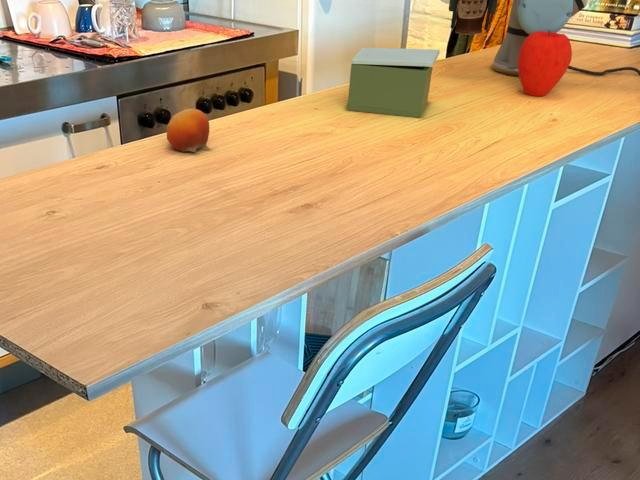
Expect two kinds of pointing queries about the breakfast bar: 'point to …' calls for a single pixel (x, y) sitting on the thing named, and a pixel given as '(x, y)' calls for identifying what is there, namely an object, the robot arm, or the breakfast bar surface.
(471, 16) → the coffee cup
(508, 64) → the robot arm
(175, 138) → the fruit
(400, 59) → the pale blue box lid
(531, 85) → the apple
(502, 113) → the breakfast bar surface
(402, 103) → the green storage bin
